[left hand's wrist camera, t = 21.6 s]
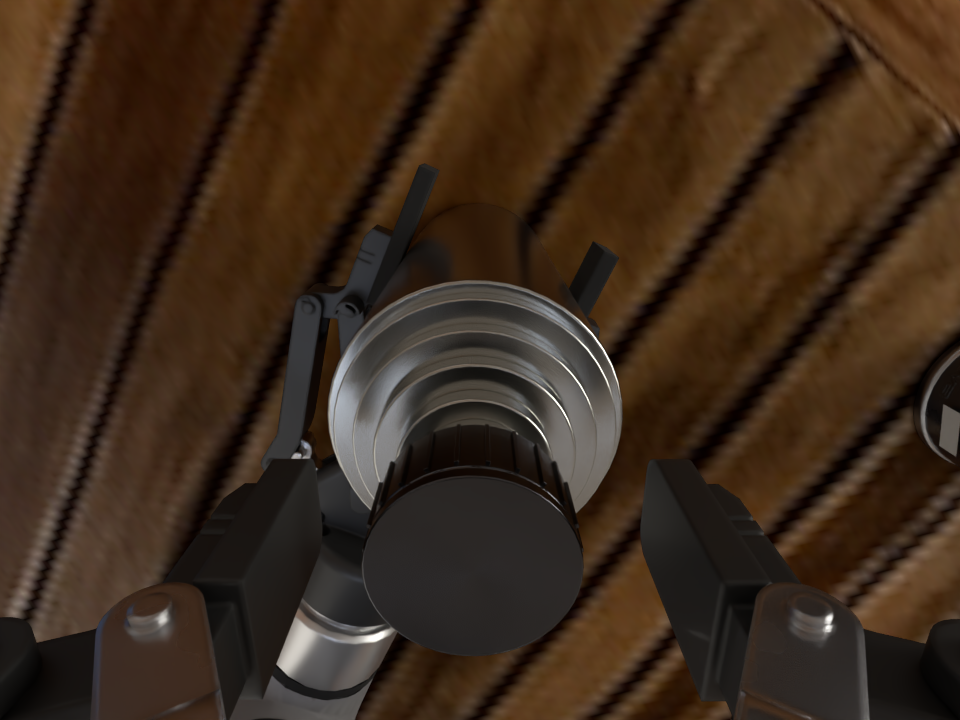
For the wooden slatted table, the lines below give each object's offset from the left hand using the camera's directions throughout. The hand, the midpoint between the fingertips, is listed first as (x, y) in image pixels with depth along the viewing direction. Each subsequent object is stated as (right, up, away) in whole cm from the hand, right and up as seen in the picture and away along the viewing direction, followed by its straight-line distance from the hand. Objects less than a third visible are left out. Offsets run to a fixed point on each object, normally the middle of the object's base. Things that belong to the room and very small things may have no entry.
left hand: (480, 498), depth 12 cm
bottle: (0, +8, +22) cm, 24 cm away
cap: (0, -1, -1) cm, 1 cm away
